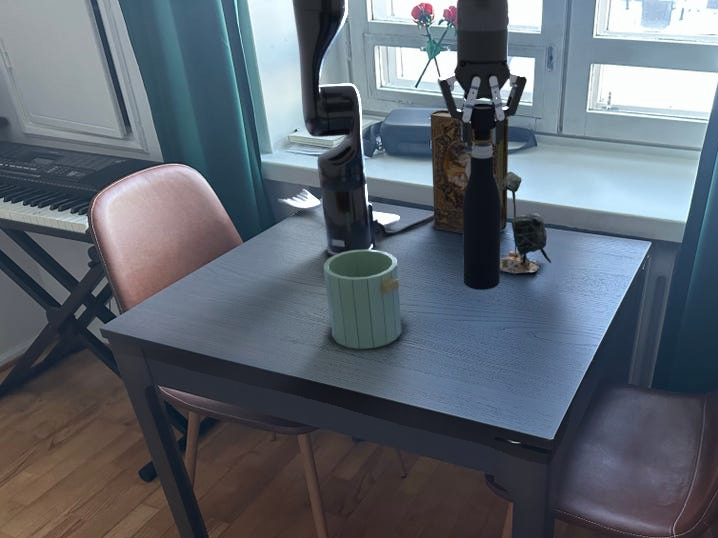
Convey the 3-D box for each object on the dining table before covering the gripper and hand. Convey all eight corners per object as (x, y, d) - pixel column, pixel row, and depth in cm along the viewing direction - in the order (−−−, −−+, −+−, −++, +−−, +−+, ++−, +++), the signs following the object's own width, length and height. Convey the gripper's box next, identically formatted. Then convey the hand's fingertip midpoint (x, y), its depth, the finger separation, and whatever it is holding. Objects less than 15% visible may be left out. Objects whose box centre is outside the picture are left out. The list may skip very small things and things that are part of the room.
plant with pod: (538, 282, 135) (543, 180, 124) (487, 270, 140) (488, 171, 129) (556, 267, 141) (562, 169, 130) (507, 256, 146) (509, 160, 135)
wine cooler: (363, 306, 126) (357, 242, 120) (420, 330, 119) (417, 263, 112) (313, 331, 119) (303, 264, 112) (371, 358, 111) (364, 288, 105)
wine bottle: (496, 291, 121) (499, 111, 105) (459, 288, 122) (457, 109, 106) (502, 276, 126) (506, 102, 110) (467, 273, 127) (466, 100, 111)
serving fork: (304, 200, 175) (302, 187, 173) (408, 224, 161) (407, 210, 159) (278, 211, 169) (276, 197, 167) (383, 237, 154) (382, 222, 153)
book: (431, 227, 159) (426, 114, 146) (442, 219, 164) (438, 109, 150) (496, 239, 154) (498, 122, 140) (506, 230, 158) (509, 116, 145)
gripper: (523, 21, 106) (519, 136, 115) (430, 23, 104) (434, 140, 113) (536, 27, 100) (531, 148, 109) (438, 29, 97) (441, 153, 107)
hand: (481, 143), depth 111 cm, fingers closed on wine bottle, 4 cm apart
